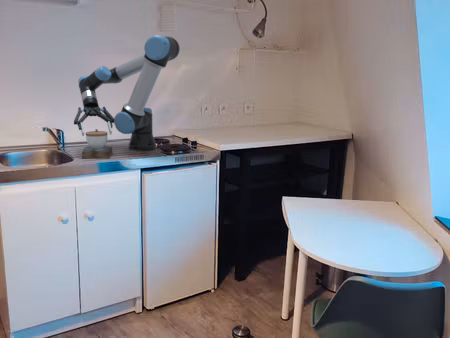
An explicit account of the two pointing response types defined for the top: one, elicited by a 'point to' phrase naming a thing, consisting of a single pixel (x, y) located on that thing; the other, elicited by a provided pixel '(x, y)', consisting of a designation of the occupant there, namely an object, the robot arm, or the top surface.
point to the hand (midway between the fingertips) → (97, 133)
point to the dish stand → (97, 152)
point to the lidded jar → (96, 139)
